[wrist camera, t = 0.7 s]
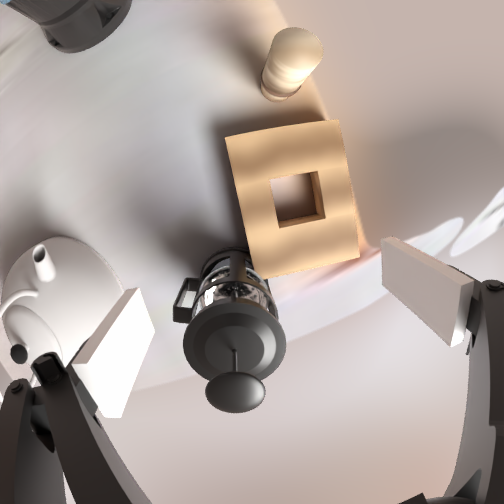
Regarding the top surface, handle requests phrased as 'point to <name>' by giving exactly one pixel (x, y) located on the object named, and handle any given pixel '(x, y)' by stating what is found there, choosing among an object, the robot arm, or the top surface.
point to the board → (324, 188)
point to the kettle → (56, 299)
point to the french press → (231, 331)
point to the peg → (289, 63)
